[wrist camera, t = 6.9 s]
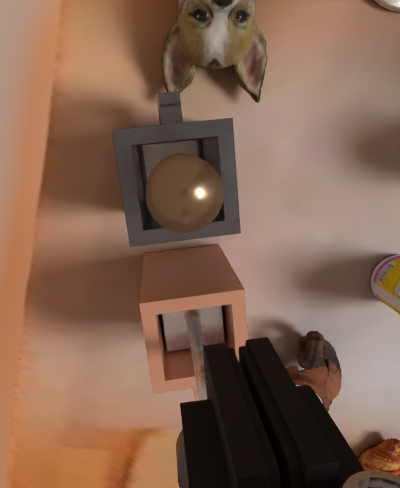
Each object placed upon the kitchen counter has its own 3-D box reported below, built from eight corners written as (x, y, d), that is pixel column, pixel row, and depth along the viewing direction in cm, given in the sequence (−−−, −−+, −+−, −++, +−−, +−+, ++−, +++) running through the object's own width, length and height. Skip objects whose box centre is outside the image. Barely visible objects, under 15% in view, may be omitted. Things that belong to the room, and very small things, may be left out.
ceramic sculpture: (292, -105, 30) (281, 101, 35) (264, -59, 38) (258, 102, 43) (154, -111, 29) (163, 102, 34) (156, -62, 37) (162, 103, 42)
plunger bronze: (142, 145, 41) (132, 153, 23) (196, 139, 41) (225, 143, 24) (149, 198, 42) (145, 244, 25) (201, 192, 43) (232, 233, 25)
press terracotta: (143, 253, 45) (139, 303, 32) (218, 244, 46) (244, 289, 33) (156, 337, 49) (156, 415, 35) (225, 327, 49) (252, 399, 36)
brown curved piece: (338, 379, 54) (335, 432, 48) (271, 365, 57) (260, 413, 51) (348, 316, 48) (347, 367, 41) (273, 304, 51) (260, 350, 44)
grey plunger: (159, 295, 37) (164, 439, 20) (218, 288, 37) (274, 421, 20) (167, 348, 39) (177, 523, 21) (223, 340, 39) (278, 504, 22)
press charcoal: (122, 108, 41) (106, 96, 27) (205, 100, 41) (230, 85, 28) (137, 212, 44) (130, 247, 31) (214, 203, 45) (240, 233, 31)
